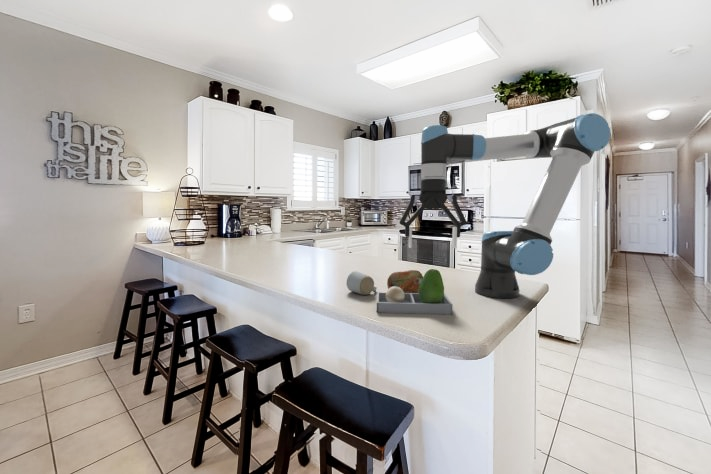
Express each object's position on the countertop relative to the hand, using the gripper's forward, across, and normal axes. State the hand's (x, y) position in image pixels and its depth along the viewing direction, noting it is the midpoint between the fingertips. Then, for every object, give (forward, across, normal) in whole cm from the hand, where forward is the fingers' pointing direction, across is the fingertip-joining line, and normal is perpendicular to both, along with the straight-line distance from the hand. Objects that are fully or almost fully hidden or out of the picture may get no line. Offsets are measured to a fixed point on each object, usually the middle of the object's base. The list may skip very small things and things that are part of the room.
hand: (432, 247), depth 102 cm
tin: (+20, +7, -17) cm, 27 cm away
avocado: (+19, 0, 0) cm, 19 cm away
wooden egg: (+16, +11, 0) cm, 19 cm away
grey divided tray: (+19, +6, 0) cm, 20 cm away
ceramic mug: (+19, +22, -16) cm, 34 cm away
